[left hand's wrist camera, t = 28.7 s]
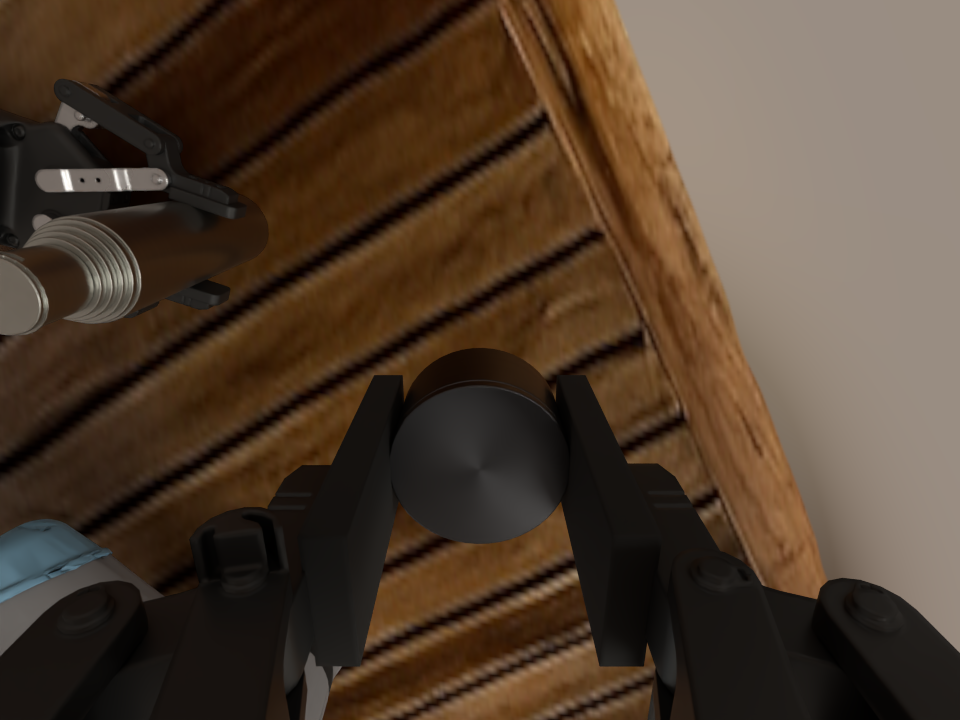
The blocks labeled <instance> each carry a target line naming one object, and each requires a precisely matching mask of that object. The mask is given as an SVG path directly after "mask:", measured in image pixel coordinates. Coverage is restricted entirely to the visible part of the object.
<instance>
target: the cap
mask: <svg viewBox="0 0 960 720" xmlns="http://www.w3.org/2000/svg"><path fill="white" fill-rule="evenodd" d="M389 455H390V471H391V484H392V487H393V490H394V492H395V495H396V497H397V498H398V500H399V502H400V503H401V505H402V506H403V508H404V509H405V510H406V511H407V513H408V514H409V515H410V516H411V517H412V518H413V519H414V520H415V521H417V522H418V523H419V524H421V525H422V526H423V527H425V528H426V529H428V530H430V531H431V532H433V533H435V534H437V535H440V536H442V537H444V538H448V539H451V540H454V541H459V542H464V543H474V544H486V543H495V542H501V541H505V540H509V539H512V538H515V537H518V536H521V535H523V534H525V533H527V532H529V531H530V530H532V529H534V528H535V527H537V526H538V525H540V524H541V523H542V522H543V521H544V520H546V519H547V518H548V517H549V516H550V515H551V513H552V512H553V511H554V510H555V509H556V507H557V506H558V505H559V503H560V502H561V500H562V498H563V496H564V494H565V492H566V489H567V486H568V481H569V467H570V449H569V445H568V442H567V438H566V435H565V432H564V428H563V425H562V422H561V418H560V415H559V412H558V409H557V405H556V402H555V399H554V396H553V393H552V391H551V389H550V387H549V385H548V384H547V382H546V381H545V379H544V378H543V377H542V376H541V374H540V373H539V372H538V371H537V370H536V369H535V368H534V367H532V366H531V365H530V364H528V363H527V362H526V361H524V360H523V359H521V358H519V357H517V356H515V355H512V354H510V353H507V352H504V351H500V350H495V349H487V348H471V349H465V350H460V351H456V352H453V353H450V354H448V355H445V356H443V357H441V358H439V359H438V360H436V361H434V362H433V363H431V364H430V365H429V366H428V367H426V368H425V369H424V370H423V371H422V372H421V373H420V374H419V375H418V377H417V378H416V379H415V381H414V382H413V383H412V385H411V387H410V389H409V391H408V393H407V396H406V399H405V402H404V405H403V408H402V411H401V415H400V418H399V421H398V424H397V427H396V431H395V434H394V437H393V440H392V444H391V448H390V454H389Z"/></svg>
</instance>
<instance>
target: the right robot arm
mask: <svg viewBox="0 0 960 720" xmlns="http://www.w3.org/2000/svg"><path fill="white" fill-rule="evenodd" d="M54 92H55V95H56V96H57V98H58V99H59V100H60V101H62V102H61V105H60V108H59V111H58V113H57V116H56V119H55V122H44V123H39V122H36V121H33V120H30V119H27V118H24V117H21V116H18V115H16V114H13V113H10V112H7V111H4V110H1V109H0V245H4V246H9V247H13V248H17V249H20V248H23V246H24V245H25V244H26V242H27V241H28V240H29V238H30V237H31V236H32V234H33V233H34V232H35V231H36V230H37V229H38V228H39V227H41V226H42V225H44V224H46V223H47V222H49V221H51V220H53V219H56V218H59V217H63V216H70V215H77V214H84V213H91V212H98V211H105V210H112V209H119V208H126V207H128V206H129V203H130V197H131V191H151V190H161V191H164V192H166V193H169V198H170V199H172V200H175V201H178V202H181V203H185V204H188V205H190V206H193V207H196V208H199V209H202V210H204V211H207V212H210V213H213V214H216V215H219V216H222V217H225V218H229V219H239V218H243V217H245V214H246V209H247V205H246V204H244V203H241V202H238V196H239V194H237V193H236V192H235V191H234V190H232V189H231V188H228V187H226V186H223V185H220V184H217V183H214V182H211V181H208V180H206V179H203V178H200V177H197V176H194V175H192V174H190V173H188V172H187V171H186V170H185V169H184V167H183V166H182V163H181V158H180V153H181V152H182V149H183V143H182V141H181V139H180V138H179V137H178V136H177V135H175V134H174V133H172V132H170V131H169V130H167V129H166V128H164V127H162V126H161V125H159V124H158V123H156V122H154V121H153V120H151V119H150V118H148V117H146V116H145V115H143V114H142V113H140V112H139V111H137V110H135V109H134V108H132V107H131V106H129V105H127V104H126V103H124V102H123V101H121V100H119V99H118V98H116V97H115V96H113V95H111V94H110V93H108V92H107V91H105V90H104V89H102V88H100V87H99V86H97V85H93V84H88V83H84V82H79V81H73V80H66V79H59V80H57V81H56V82H55V85H54ZM85 127H86V128H91V129H104V128H106V129H107V130H109V131H110V132H112V133H114V134H115V135H117V136H119V137H120V138H122V139H123V140H125V141H127V142H128V143H130V144H132V145H133V146H135V147H136V148H138V149H140V150H141V151H143V152H145V153H146V157H147V162H148V167H149V168H148V167H146V168H114V167H113V166H112V164H111V163H110V162H109V161H108V160H107V159H106V158H105V156H104V155H103V154H102V153H101V152H100V151H99V150H98V148H97V147H96V146H95V145H94V144H93V143H92V142H91V140H90V139H89V138H88V137H87V136H86V135H85V134H84V132H83V131H82V130H83V128H85ZM229 293H230V288H229V287H227V286H224V285H221V284H218V283H215V282H212V281H209V280H204V281H202V282H200V283H198V284H195V285H193V286H191V287H189V288H187V289H184V290H182V291H180V292H178V293H175V294H173V295H171V296H169V297H167V298H165V299H168V300H171V301H174V302H177V303H180V304H184V305H186V306H190V307H193V308H196V309H199V310H202V309H209V308H211V307H213V306H214V305H220V304H221V303H223V302H225V301H227V300H228V298H229ZM158 304H159V301H158V302H156V303H153V304H151V305H149V306H147V307H145V308H142V309H140V310H138V311H136V312H134V313H131V314H129V315H127V316H125V318H132V317H135V316H137V315H139V314H141V313H143V312H146V311H148V310H150V309H152V308H154V307H156V306H157V305H158Z"/></svg>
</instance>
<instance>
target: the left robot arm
mask: <svg viewBox="0 0 960 720" xmlns="http://www.w3.org/2000/svg"><path fill="white" fill-rule="evenodd" d="M403 405H404V393H403V375H374V377H373V379H372V381H371V383H370V385H369V387H368V389H367V392H366V394H365V396H364V398H363V400H362V402H361V404H360V406H359V408H358V410H357V412H356V415H355V417H354V419H353V421H352V423H351V425H350V427H349V429H348V431H347V433H346V435H345V438H344V440H343V442H342V444H341V446H340V448H339V450H338V452H337V454H336V456H335V458H334V461H333V463H332V465H302V466H301V467H299V468H298V469H297V470H295V471H294V472H293V473H291V474H290V475H289V476H287V477H286V478H285V479H284V481H283V482H282V484H281V486H280V487H279V489H278V491H277V492H276V496H275V497H273V499H272V500H271V502H270V504H269V505H268V509H265V508H261V507H244V508H240V509H235V510H231V511H227V512H225V513H222V514H220V515H218V516H215V517H213V518H211V519H209V520H208V521H207V522H205V523H204V524H203V525H201V526H200V527H198V528H197V530H196V531H195V532H194V534H193V535H192V536H191V538H190V539H189V541H190V545H191V549H192V553H193V558H194V562H195V566H196V571H197V575H198V579H199V586H198V587H197V588H195V589H192V590H189V591H185V592H182V593H178V594H174V595H170V596H165V597H164V596H163V595H162V594H160V593H159V592H158V591H157V590H155V589H154V588H153V587H151V586H150V585H149V584H147V583H146V582H145V581H144V580H142V579H141V578H140V577H138V576H137V575H136V574H135V573H133V572H132V571H131V570H129V569H128V568H127V567H126V566H124V565H123V564H122V563H121V562H119V561H118V560H117V559H116V558H115V557H113V556H112V555H111V554H112V552H111V550H109V549H108V548H101V547H100V546H98V545H97V544H95V543H94V542H92V541H91V540H89V539H88V538H86V537H85V536H83V535H82V534H80V533H79V532H77V531H76V530H74V529H73V528H71V527H70V526H69V525H67V524H66V523H63V522H61V521H58V520H53V519H40V520H33V521H30V522H27V523H24V524H22V525H19V526H17V527H15V528H13V529H11V530H10V531H8V532H6V533H4V534H3V535H1V536H0V720H322V718H323V714H324V711H325V707H326V703H327V700H328V695H329V692H330V688H331V685H332V681H333V678H334V677H335V675H336V674H337V673H338V671H339V670H340V668H341V667H342V666H360V664H361V660H362V656H363V651H364V647H365V643H366V638H367V634H368V630H369V626H370V621H371V617H372V613H373V608H374V604H375V600H376V596H377V591H378V587H379V583H380V579H381V574H382V570H383V566H384V561H385V557H386V553H387V549H388V544H389V540H390V536H391V532H392V527H393V523H394V519H395V514H396V510H397V506H398V502H399V500H398V498H397V497H396V495H395V492H394V490H393V487H392V484H391V471H390V455H389V454H390V448H391V444H392V440H393V437H394V434H395V431H396V427H397V424H398V421H399V418H400V415H401V411H402V408H403ZM556 405H557V409H558V412H559V415H560V418H561V422H562V425H563V428H564V432H565V435H566V438H567V442H568V445H569V449H570V467H569V481H568V486H567V489H566V492H565V494H564V496H563V498H562V500H561V503H562V507H563V512H564V516H565V520H566V524H567V529H568V533H569V537H570V542H571V546H572V550H573V554H574V559H575V563H576V567H577V571H578V576H579V580H580V584H581V589H582V593H583V597H584V601H585V606H586V610H587V614H588V619H589V623H590V627H591V631H592V636H593V640H594V644H595V648H596V653H597V657H598V661H599V666H644V661H645V654H646V647H647V643H648V646H649V649H650V652H651V655H652V658H653V660H654V663H655V666H656V669H655V676H654V682H653V689H652V695H651V701H650V708H649V715H648V720H960V653H959V652H958V651H957V650H956V649H955V648H954V647H953V646H952V645H951V644H950V643H949V642H948V641H947V640H946V639H945V638H944V637H943V636H942V635H941V634H940V633H939V632H938V631H937V630H936V629H935V628H934V627H933V626H932V625H931V624H930V623H929V622H928V621H927V620H926V619H925V618H924V617H923V616H922V615H921V614H920V613H919V612H918V611H917V610H916V609H915V608H914V607H912V606H911V605H910V604H909V603H907V602H906V601H905V600H904V599H902V598H901V597H899V596H898V595H896V594H894V593H892V592H890V591H888V590H886V589H884V588H882V587H880V586H877V585H874V584H871V583H868V582H865V581H862V580H856V579H847V578H839V579H835V580H829V581H827V582H826V583H825V584H824V585H823V586H822V587H821V588H820V591H819V595H818V599H813V598H809V597H804V596H800V595H796V594H791V593H787V592H783V591H779V590H775V589H772V588H769V587H765V586H763V585H761V582H760V581H759V579H758V577H757V576H756V574H755V573H754V571H753V570H752V569H751V568H749V567H748V566H747V565H746V564H744V563H743V562H742V561H741V560H739V559H737V558H735V557H733V556H731V555H729V554H727V553H725V552H721V551H720V550H719V548H718V547H717V545H716V543H715V542H714V540H713V538H712V537H711V535H710V533H709V532H708V530H707V529H706V527H705V525H704V524H703V522H702V520H701V519H700V517H699V515H698V514H697V512H696V510H695V509H694V508H692V504H691V502H690V500H689V499H688V497H687V496H686V495H685V494H684V491H683V489H682V487H681V486H680V484H679V482H678V481H677V479H676V477H675V476H673V475H672V474H671V473H669V472H668V471H667V470H665V469H664V468H663V467H661V466H660V465H659V464H628V463H627V461H626V459H625V457H624V455H623V453H622V451H621V449H620V447H619V445H618V443H617V440H616V438H615V436H614V434H613V432H612V430H611V428H610V426H609V424H608V422H607V419H606V417H605V415H604V413H603V411H602V409H601V407H600V405H599V403H598V401H597V399H596V396H595V394H594V392H593V390H592V388H591V386H590V384H589V382H588V380H587V378H586V376H585V375H557V386H556Z"/></svg>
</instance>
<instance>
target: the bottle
mask: <svg viewBox="0 0 960 720" xmlns="http://www.w3.org/2000/svg"><path fill="white" fill-rule="evenodd" d="M238 202H241V203H244V204H246V205H247V209H246V214H245V217H243V218H239V219H229V218H225V217H222V216H219V215H216V214H213V213H210V212H207V211H204V210H202V209H199V208H196V207H193V206H190V205H188V204H185V203H181V202H178V201H175V200H174V201H167V202H160V203H153V204H146V205H139V206H132V207H126V208H119V209H112V210H105V211H98V212H91V213H84V214H77V215H70V216H63V217H59V218H56V219H53V220H51V221H49V222H47V223H46V224H44V225H42V226H41V227H39V228H38V229H37V230H36V231H35V232H34V233H33V234H32V236H31V237H30V238H29V240H28V241H27V242H26V244H25V245H24V246H23V248H20V249H15V250H10V251H0V334H3V335H27V334H30V333H32V332H35V331H37V330H38V329H40V328H41V327H42V326H44V325H47V324H49V323H52V322H54V321H57V320H60V319H67V320H72V321H76V322H81V323H88V324H98V323H107V322H112V321H116V320H118V319H120V318H123V317H125V316H127V315H129V314H131V313H134V312H136V311H138V310H140V309H142V308H145V307H147V306H149V305H151V304H153V303H156V302H158V301H160V300H162V299H164V298H167V297H169V296H171V295H173V294H175V293H178V292H180V291H182V290H184V289H187V288H189V287H191V286H193V285H195V284H198V283H200V282H202V281H204V280H206V279H209V278H211V277H213V276H215V275H217V274H220V273H222V272H224V271H226V270H228V269H231V268H233V267H235V266H237V265H240V264H242V263H244V262H246V261H248V260H251V259H253V258H255V257H256V256H258V255H259V254H260V253H261V252H262V251H263V249H264V247H265V245H266V243H267V240H268V225H267V221H266V219H265V216H264V214H263V213H262V211H261V210H260V208H259V207H258V206H257V205H256V204H255V203H254V202H253V201H251V200H250V199H248V198H247V197H245V196H242V195H240V194H239V196H238Z"/></svg>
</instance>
